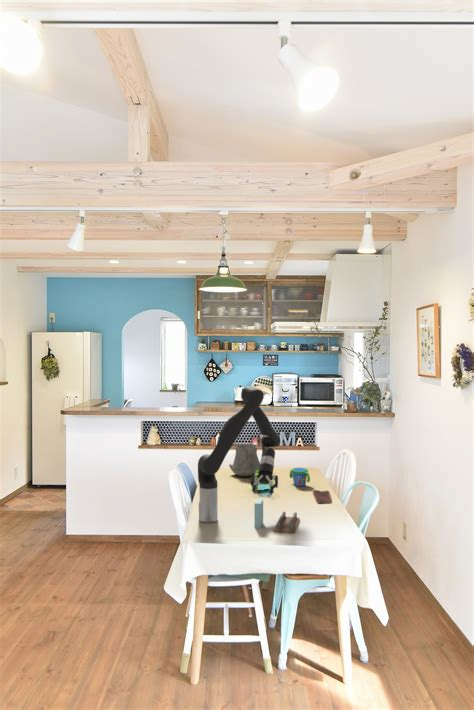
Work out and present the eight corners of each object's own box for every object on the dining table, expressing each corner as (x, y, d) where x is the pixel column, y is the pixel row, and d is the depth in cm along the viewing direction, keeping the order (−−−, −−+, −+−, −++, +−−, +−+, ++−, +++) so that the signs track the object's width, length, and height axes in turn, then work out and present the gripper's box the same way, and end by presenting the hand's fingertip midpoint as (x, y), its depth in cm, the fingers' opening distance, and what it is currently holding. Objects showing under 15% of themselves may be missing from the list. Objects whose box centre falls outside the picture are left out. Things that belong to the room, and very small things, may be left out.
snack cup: (285, 483, 348) (285, 468, 348) (297, 481, 354) (297, 466, 354) (301, 489, 335) (301, 473, 335) (314, 486, 341) (314, 470, 341)
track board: (273, 531, 260) (273, 523, 260) (280, 518, 280) (280, 511, 280) (294, 533, 258) (294, 525, 258) (299, 519, 277) (299, 512, 277)
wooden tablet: (333, 502, 304) (315, 500, 305) (333, 506, 304) (315, 504, 305) (329, 490, 331) (312, 487, 331) (328, 493, 331) (312, 491, 331)
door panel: (254, 527, 266) (254, 503, 266) (257, 522, 273) (257, 499, 273) (260, 527, 266) (260, 503, 265) (263, 523, 272) (263, 499, 272)
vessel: (231, 470, 383) (231, 442, 383) (262, 471, 380) (262, 443, 380) (226, 478, 362) (226, 448, 361) (259, 479, 359) (259, 449, 358)
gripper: (252, 461, 288) (247, 488, 277) (279, 463, 284) (275, 490, 274) (254, 469, 293) (250, 496, 282) (280, 470, 290) (277, 498, 279)
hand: (262, 493), depth 278 cm, fingers open, 8 cm apart
